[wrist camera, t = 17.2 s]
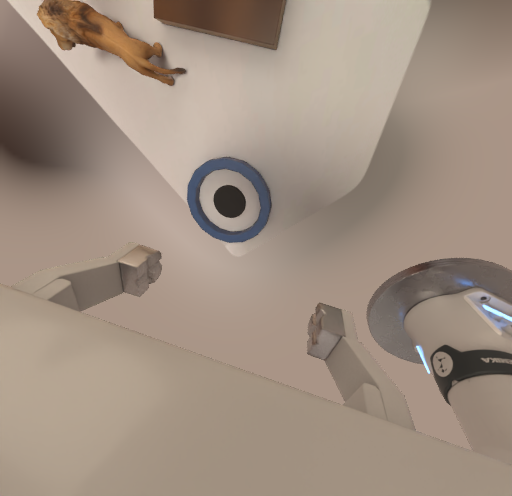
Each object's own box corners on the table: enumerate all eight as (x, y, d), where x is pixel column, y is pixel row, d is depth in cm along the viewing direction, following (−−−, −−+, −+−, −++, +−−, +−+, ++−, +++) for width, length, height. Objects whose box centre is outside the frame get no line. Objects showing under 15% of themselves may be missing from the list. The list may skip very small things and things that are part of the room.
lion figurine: (97, 58, 34) (34, 41, 26) (93, 11, 31) (21, -25, 23) (185, 92, 33) (147, 83, 26) (190, 46, 30) (149, 22, 23)
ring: (280, 171, 36) (279, 173, 34) (260, 247, 44) (258, 251, 42) (193, 147, 37) (189, 148, 36) (189, 226, 45) (185, 229, 44)
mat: (248, 190, 39) (247, 191, 38) (242, 220, 42) (241, 221, 41) (216, 181, 39) (215, 181, 39) (212, 212, 42) (212, 212, 42)
